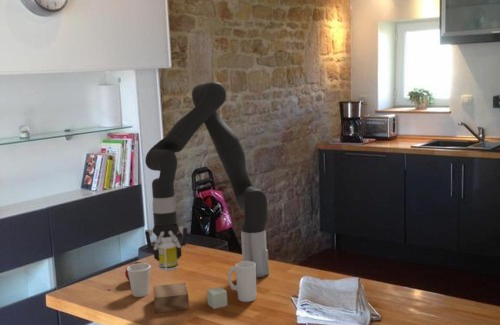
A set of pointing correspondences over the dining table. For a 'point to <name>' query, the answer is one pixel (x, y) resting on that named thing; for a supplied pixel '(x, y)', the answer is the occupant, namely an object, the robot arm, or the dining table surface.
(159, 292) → the walnut block
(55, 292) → the dining table surface
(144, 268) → the dixie cup
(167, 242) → the pill bottle
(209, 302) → the sage block
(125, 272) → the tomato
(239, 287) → the mug
